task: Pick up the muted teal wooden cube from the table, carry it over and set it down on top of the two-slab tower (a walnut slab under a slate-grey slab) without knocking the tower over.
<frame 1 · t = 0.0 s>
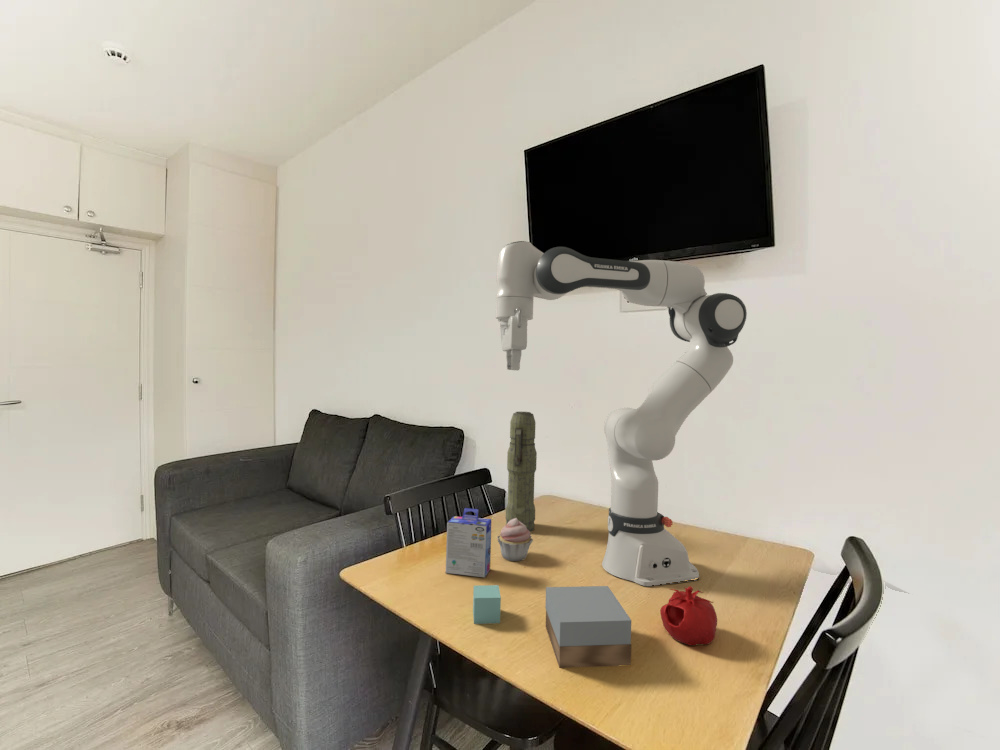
hand: (512, 370, 110), 48 cm above the table, tool pointing down, fingers open, 8 cm apart
pomegranate: (687, 636, 86), on the table
teal cube: (486, 616, 91), on the table
ink cartridge box: (468, 572, 110), on the table
cupcake: (514, 557, 119), on the table
tower bottom slab: (585, 647, 82), on the table, touching tower top slab
thermos: (520, 527, 141), on the table
tower top slab: (585, 625, 82), point 3 cm above the table, touching tower bottom slab
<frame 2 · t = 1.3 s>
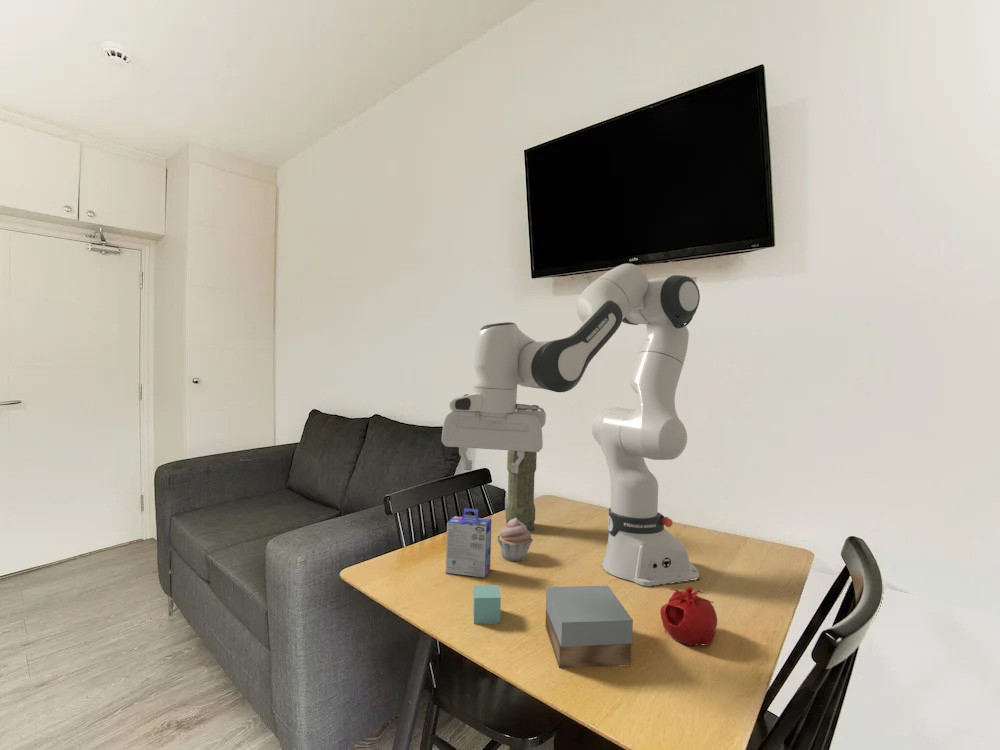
hand: (490, 471, 93), 28 cm above the table, tool pointing down, fingers open, 8 cm apart
nothing on the table moved.
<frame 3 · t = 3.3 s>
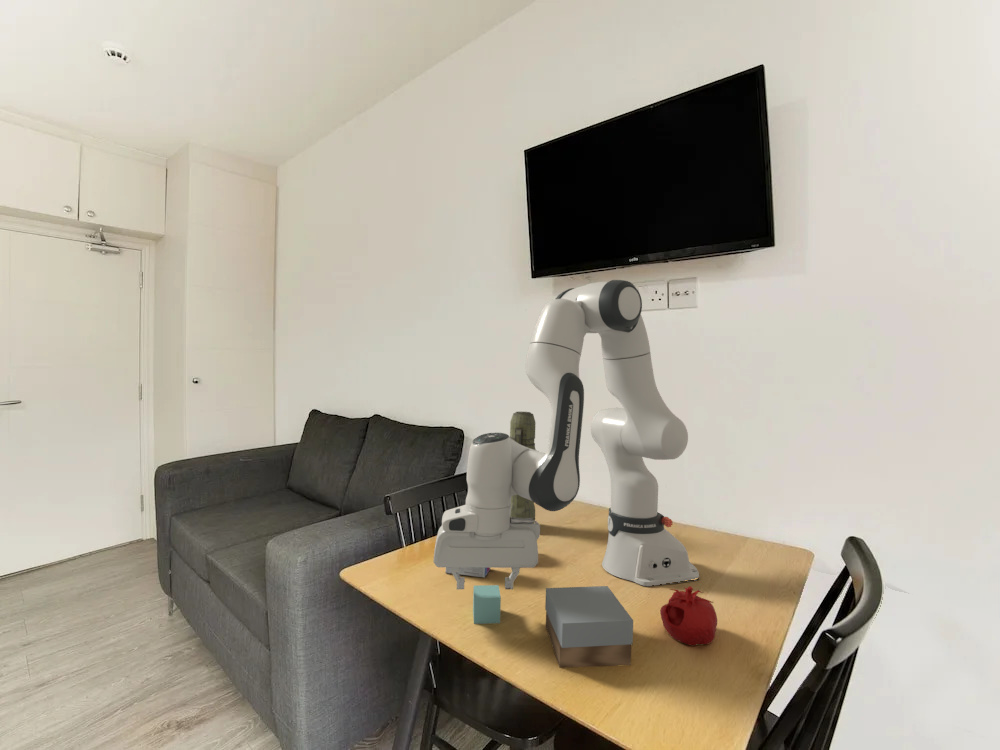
hand: (484, 588, 90), 6 cm above the table, tool pointing down, fingers open, 8 cm apart
nothing on the table moved.
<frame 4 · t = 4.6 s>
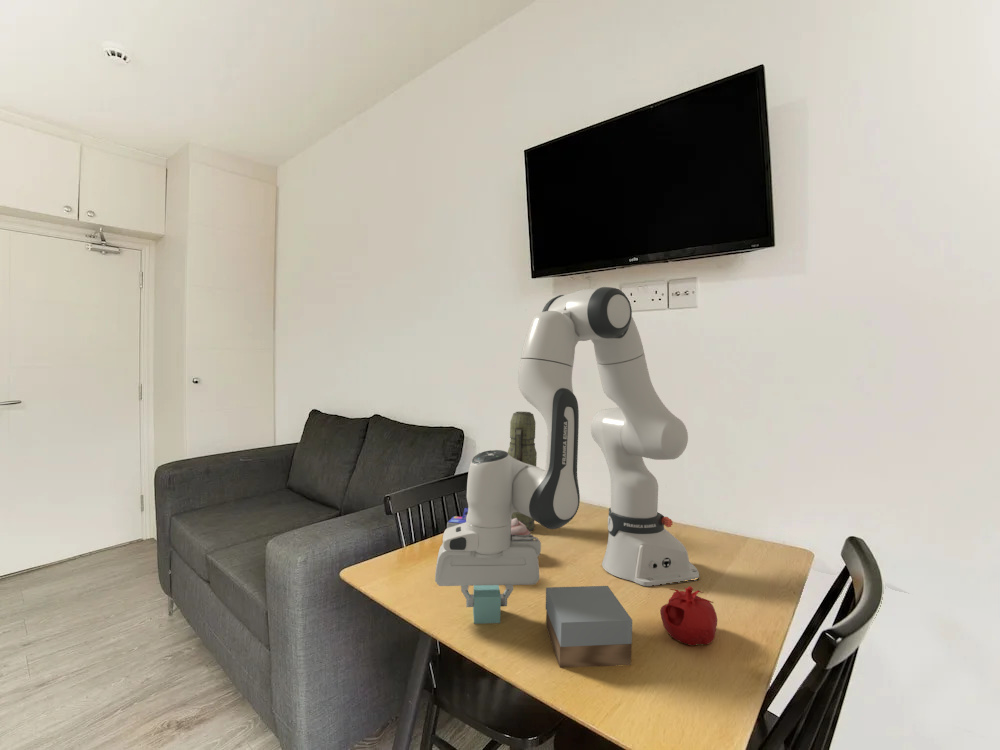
hand: (486, 605, 91), 2 cm above the table, tool pointing down, fingers closed on teal cube, 5 cm apart
teal cube: (486, 616, 91), on the table, touching gripper
everything else where it was.
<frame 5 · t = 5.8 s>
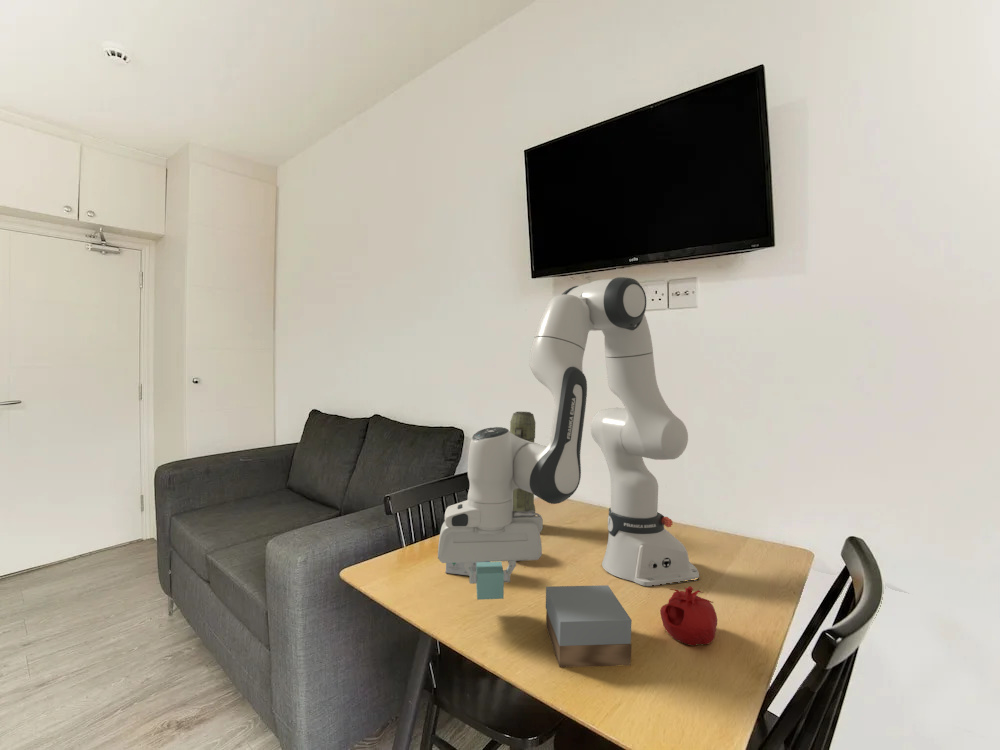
hand: (489, 581, 91), 7 cm above the table, tool pointing down, fingers closed on teal cube, 5 cm apart
teal cube: (489, 592, 91), point 4 cm above the table, touching gripper
everything else where it was.
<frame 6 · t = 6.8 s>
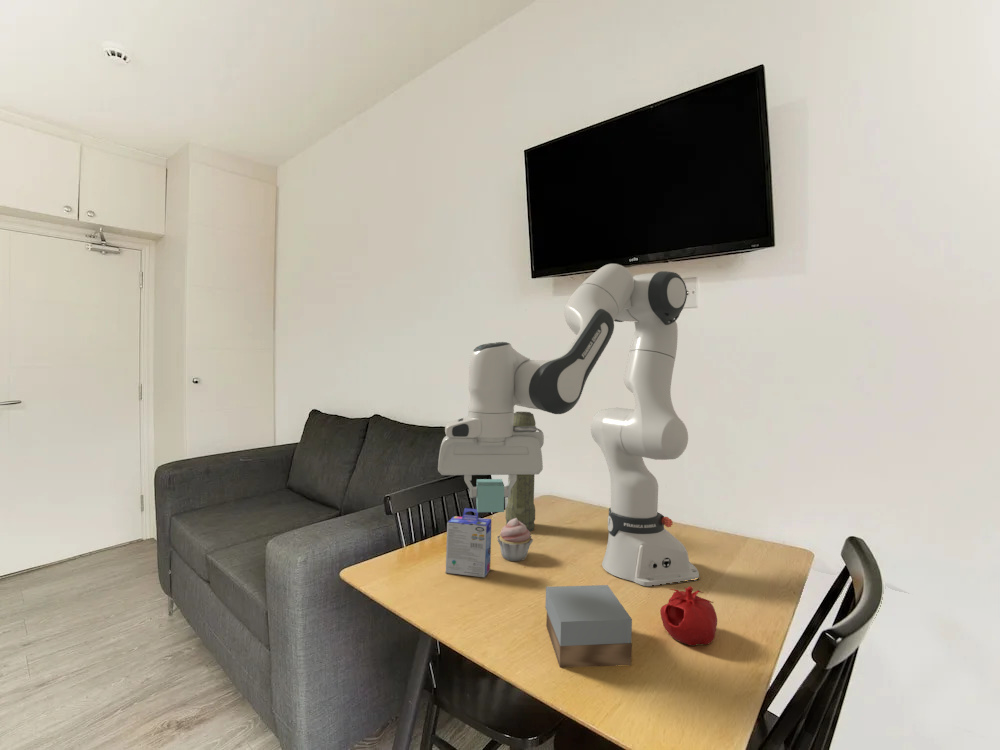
hand: (489, 496, 90), 23 cm above the table, tool pointing down, fingers closed on teal cube, 5 cm apart
teal cube: (489, 507, 90), point 21 cm above the table, touching gripper
everything else where it was.
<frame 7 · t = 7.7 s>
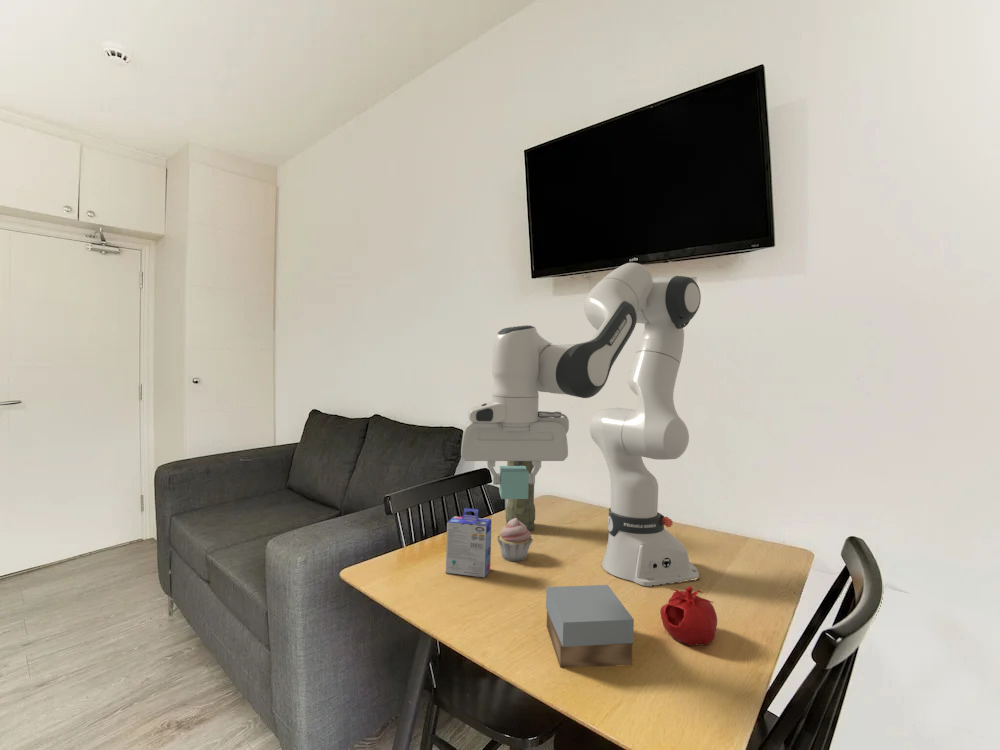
hand: (513, 483, 88), 27 cm above the table, tool pointing down, fingers closed on teal cube, 5 cm apart
teal cube: (513, 495, 88), point 24 cm above the table, touching gripper
tower bottom slab: (586, 646, 82), on the table
tower top slab: (586, 624, 82), point 4 cm above the table
everything else where it was.
when the fingers open (12 cm above the table, at t = 11.7 s): teal cube drops 2 cm, resting on tower top slab.
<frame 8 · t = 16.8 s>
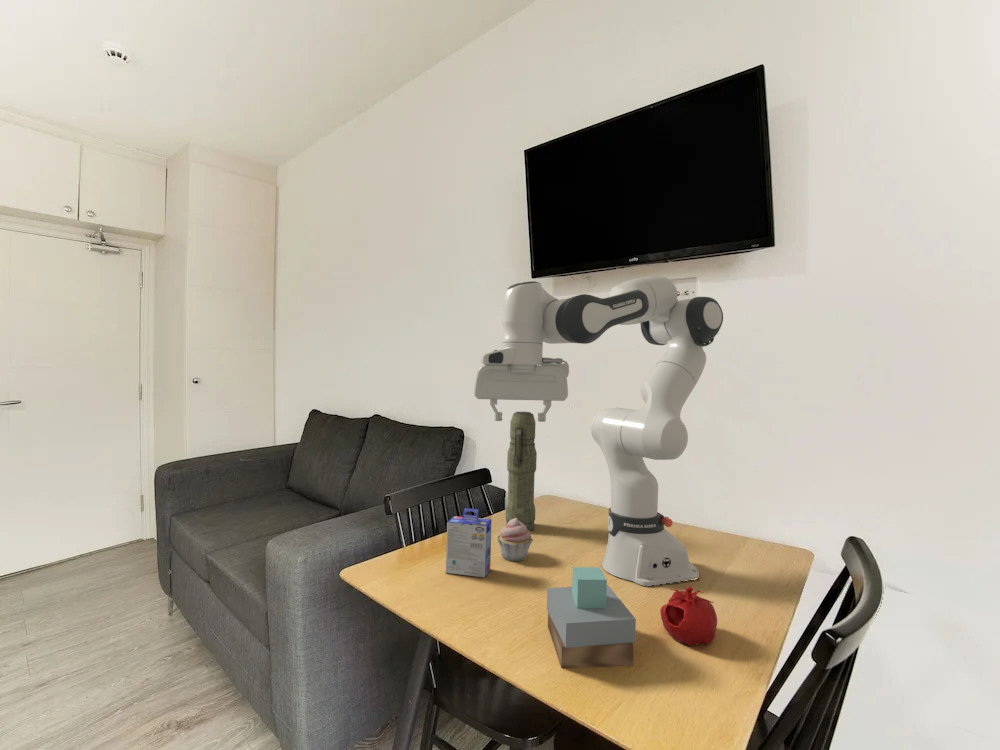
hand: (520, 421, 101), 37 cm above the table, tool pointing down, fingers open, 8 cm apart
teal cube: (588, 601, 83), point 7 cm above the table, touching tower top slab
tower bottom slab: (587, 647, 82), on the table, touching tower top slab
tower top slab: (588, 624, 82), point 3 cm above the table, touching teal cube, tower bottom slab
everything else where it was.
at the end: teal cube inside the target area on the tower top slab (0.5 cm from its centre), point 4.0 cm above the tower top slab's base; tower top slab 0.2 cm off-centre on the tower bottom slab, point 4.0 cm above the tower bottom slab's base; teal cube tilted 0° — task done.
